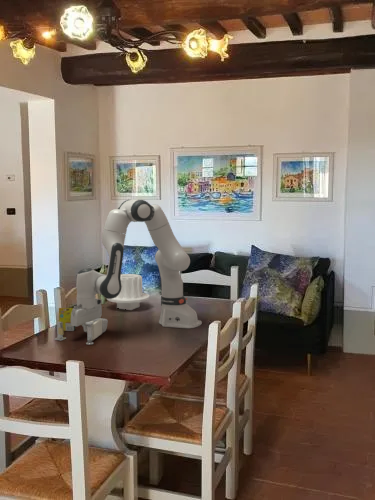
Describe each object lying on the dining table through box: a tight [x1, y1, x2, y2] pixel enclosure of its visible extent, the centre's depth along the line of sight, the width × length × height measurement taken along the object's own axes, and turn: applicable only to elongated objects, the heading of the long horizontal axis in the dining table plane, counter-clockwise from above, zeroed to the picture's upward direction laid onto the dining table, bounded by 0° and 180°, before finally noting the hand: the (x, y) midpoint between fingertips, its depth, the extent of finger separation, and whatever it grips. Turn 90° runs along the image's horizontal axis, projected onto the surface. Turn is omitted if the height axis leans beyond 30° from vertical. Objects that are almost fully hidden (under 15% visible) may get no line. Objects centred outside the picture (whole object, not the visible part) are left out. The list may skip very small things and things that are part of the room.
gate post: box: [85, 325, 94, 346], centre depth 248 cm, size 3×3×8 cm
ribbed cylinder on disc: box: [106, 273, 151, 311], centre depth 320 cm, size 25×25×19 cm
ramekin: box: [93, 318, 109, 333], centre depth 269 cm, size 11×11×5 cm
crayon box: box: [58, 307, 76, 332], centre depth 270 cm, size 7×3×12 cm, turn 86°
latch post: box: [53, 321, 67, 341], centre depth 255 cm, size 5×4×8 cm
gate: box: [86, 319, 103, 341], centre depth 253 cm, size 16×3×9 cm, turn 168°
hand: (86, 331), depth 262 cm, fingers closed
